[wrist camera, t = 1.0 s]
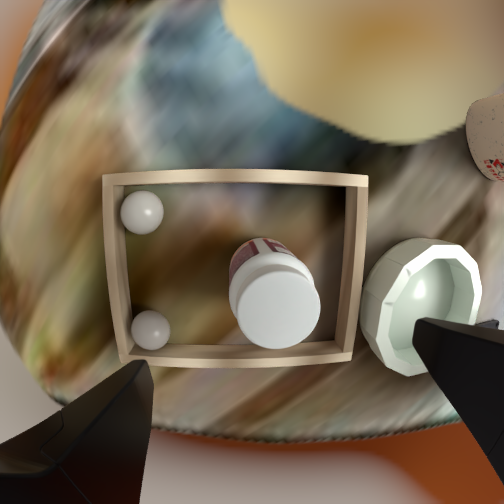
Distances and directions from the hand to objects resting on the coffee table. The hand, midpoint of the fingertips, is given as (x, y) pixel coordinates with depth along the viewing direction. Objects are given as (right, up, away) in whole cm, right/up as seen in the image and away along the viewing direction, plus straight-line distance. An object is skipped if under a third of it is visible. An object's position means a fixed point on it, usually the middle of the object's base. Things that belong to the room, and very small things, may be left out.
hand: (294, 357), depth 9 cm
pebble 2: (-9, -3, +12) cm, 15 cm away
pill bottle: (-1, +2, +13) cm, 14 cm away
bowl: (+13, -1, +15) cm, 20 cm away
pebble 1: (-9, +6, +10) cm, 15 cm away
